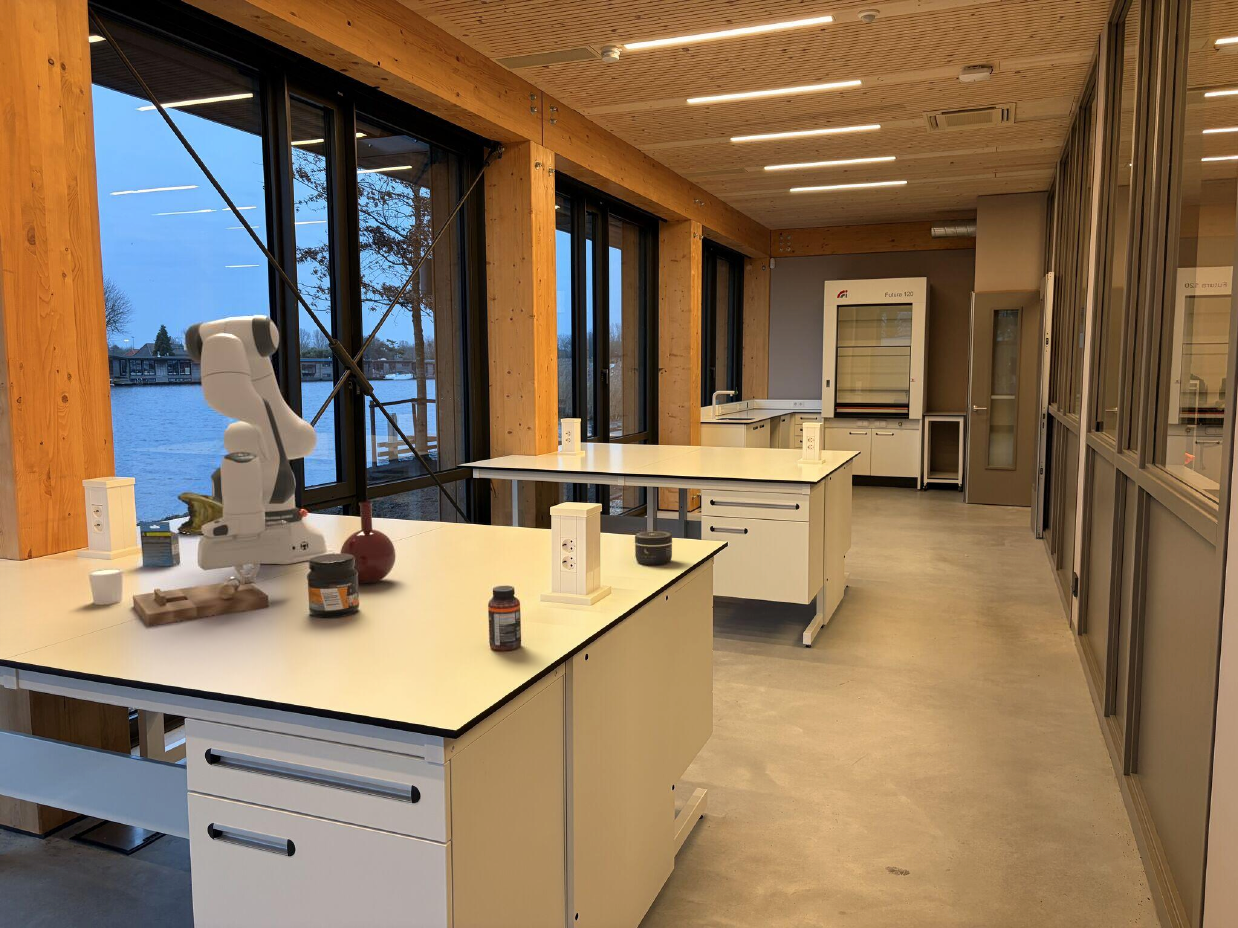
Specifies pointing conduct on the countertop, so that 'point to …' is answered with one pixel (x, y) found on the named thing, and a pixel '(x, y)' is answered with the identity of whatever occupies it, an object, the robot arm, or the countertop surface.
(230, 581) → the steel ball
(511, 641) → the supplement bottle
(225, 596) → the cork ball
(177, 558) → the label tape cartridge
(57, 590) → the countertop surface
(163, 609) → the board
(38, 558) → the countertop surface
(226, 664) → the countertop surface
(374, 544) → the round-bottom flask
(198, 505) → the crocodile head
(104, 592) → the white cup
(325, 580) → the supplement container
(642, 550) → the jar
